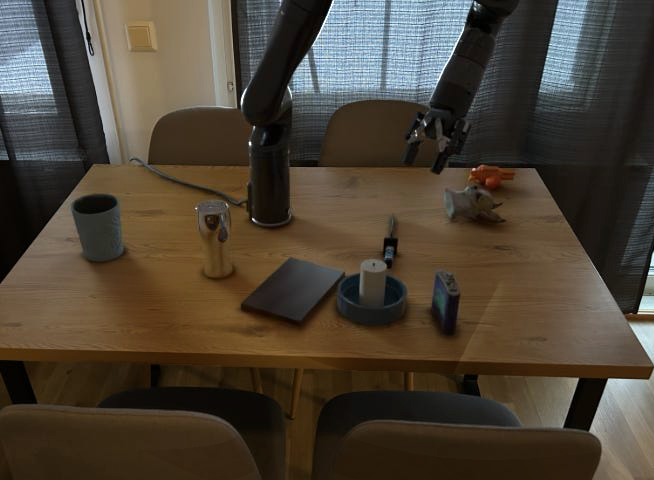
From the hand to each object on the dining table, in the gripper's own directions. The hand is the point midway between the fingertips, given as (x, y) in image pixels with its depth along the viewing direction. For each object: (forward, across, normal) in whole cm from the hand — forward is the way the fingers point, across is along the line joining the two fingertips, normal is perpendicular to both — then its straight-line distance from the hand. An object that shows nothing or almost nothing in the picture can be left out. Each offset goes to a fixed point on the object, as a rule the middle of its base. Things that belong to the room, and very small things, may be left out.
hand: (419, 168), depth 123 cm
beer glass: (+35, -24, -19) cm, 47 cm away
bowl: (+28, +3, 0) cm, 28 cm away
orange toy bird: (-8, -28, +49) cm, 57 cm away
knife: (+17, -14, +14) cm, 25 cm away
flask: (+25, +14, +9) cm, 30 cm away
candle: (+28, +3, 0) cm, 28 cm away
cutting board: (+32, -8, -9) cm, 34 cm away
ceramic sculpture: (+3, -16, +35) cm, 39 cm away
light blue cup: (+43, -43, -37) cm, 71 cm away
